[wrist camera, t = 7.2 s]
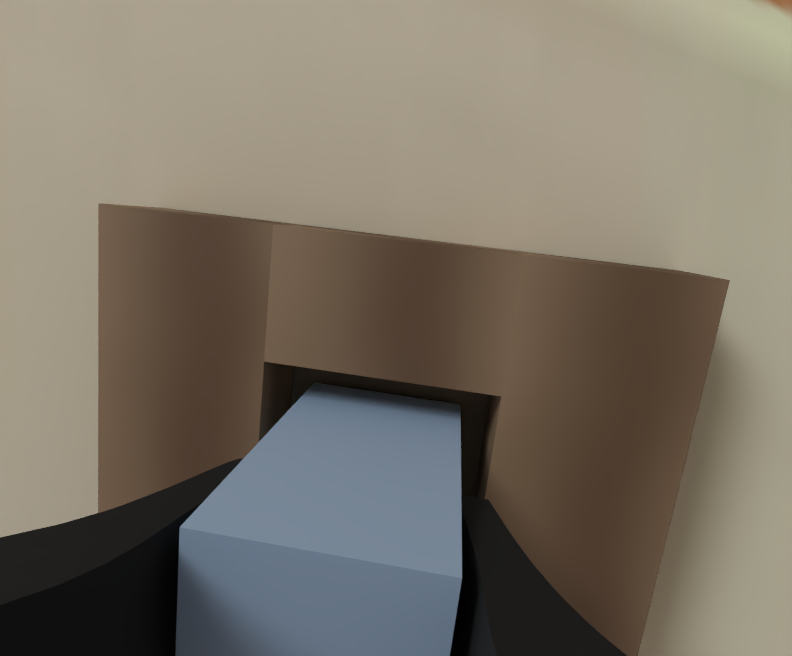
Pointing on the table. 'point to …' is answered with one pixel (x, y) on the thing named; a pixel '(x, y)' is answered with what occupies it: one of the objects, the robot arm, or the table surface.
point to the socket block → (416, 372)
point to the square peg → (331, 535)
